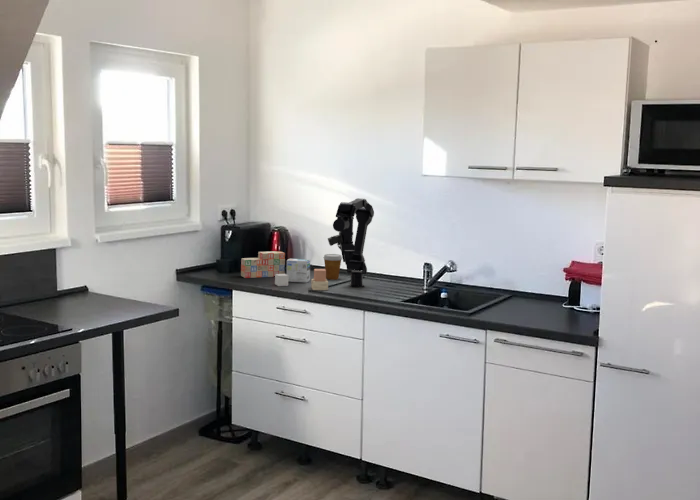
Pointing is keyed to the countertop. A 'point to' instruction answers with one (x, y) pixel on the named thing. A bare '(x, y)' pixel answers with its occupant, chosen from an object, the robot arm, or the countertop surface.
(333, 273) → the disposable coffee cup
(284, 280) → the white cube
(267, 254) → the stack of blocks
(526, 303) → the countertop surface
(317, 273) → the terracotta cube
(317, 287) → the birch block
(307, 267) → the light bulb box
